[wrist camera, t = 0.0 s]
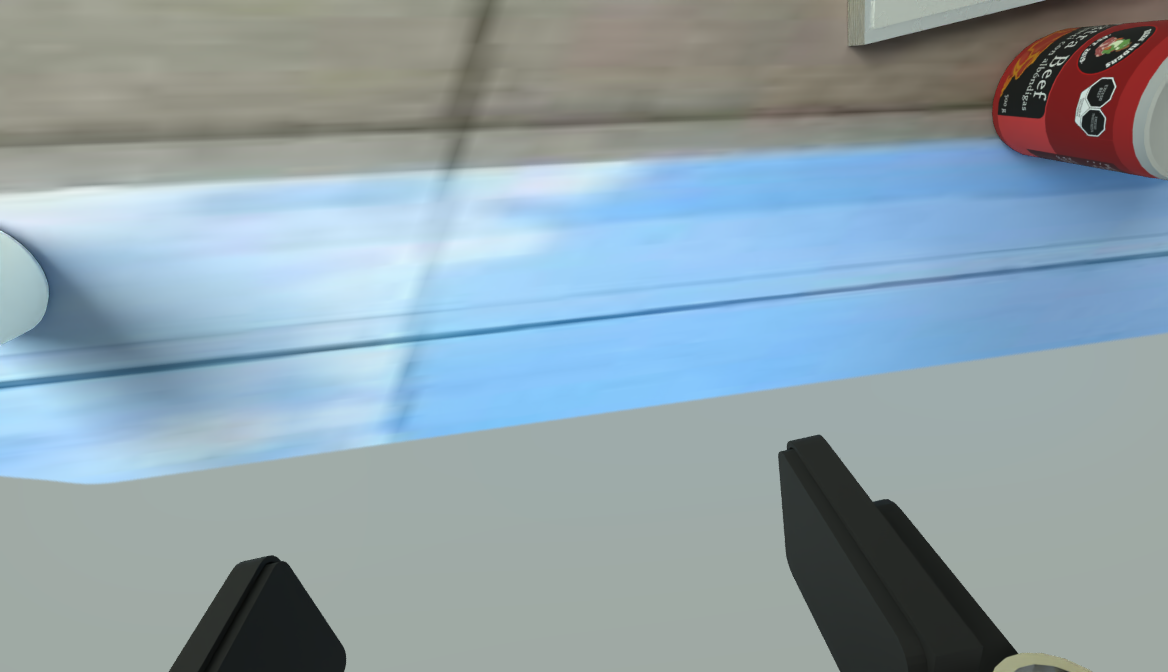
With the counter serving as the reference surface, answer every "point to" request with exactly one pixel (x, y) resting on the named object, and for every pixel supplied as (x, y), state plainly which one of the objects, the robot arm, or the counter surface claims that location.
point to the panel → (914, 16)
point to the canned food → (1090, 98)
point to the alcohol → (20, 289)
